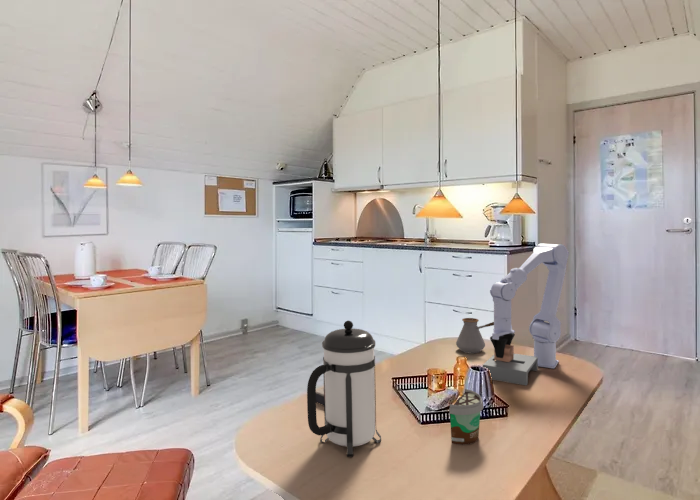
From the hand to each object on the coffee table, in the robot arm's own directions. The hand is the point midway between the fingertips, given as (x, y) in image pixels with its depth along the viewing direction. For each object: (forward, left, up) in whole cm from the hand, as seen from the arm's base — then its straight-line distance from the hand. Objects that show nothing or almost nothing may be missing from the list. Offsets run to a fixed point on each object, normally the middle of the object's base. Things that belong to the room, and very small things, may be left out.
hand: (502, 355), depth 157 cm
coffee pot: (-18, -13, -6) cm, 23 cm away
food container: (+52, +6, -6) cm, 53 cm away
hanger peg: (0, 0, -4) cm, 4 cm away
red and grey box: (+48, -35, -6) cm, 59 cm away
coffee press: (+70, -18, -6) cm, 73 cm away
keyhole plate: (0, +3, -6) cm, 7 cm away
